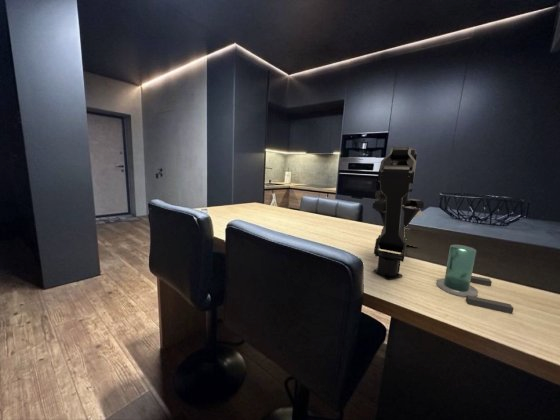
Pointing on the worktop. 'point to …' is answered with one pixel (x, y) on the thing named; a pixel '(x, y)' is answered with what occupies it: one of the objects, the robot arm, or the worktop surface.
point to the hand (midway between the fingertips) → (395, 227)
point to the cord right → (489, 304)
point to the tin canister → (459, 267)
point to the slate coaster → (470, 292)
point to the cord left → (481, 280)
